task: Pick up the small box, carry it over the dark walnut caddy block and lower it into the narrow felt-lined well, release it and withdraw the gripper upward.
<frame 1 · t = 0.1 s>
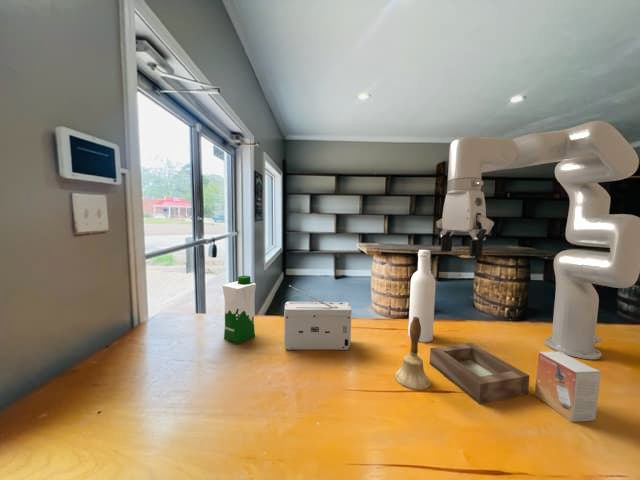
hand: (459, 253, 66), 31 cm above the table, fingers open, 9 cm apart
hand bell: (412, 380, 63), on the table
small box: (562, 408, 54), on the table
stereo radio cassette player: (317, 346, 80), on the table
bottle: (420, 337, 87), on the table
well block: (474, 377, 64), on the table
milk carton: (239, 337, 84), on the table
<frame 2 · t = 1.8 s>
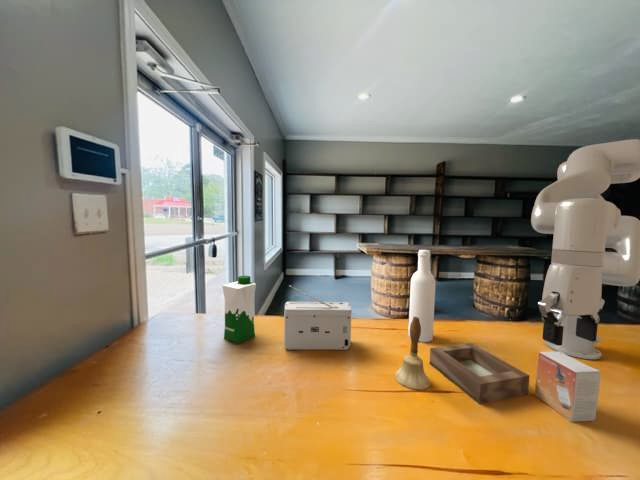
hand: (569, 340, 53), 15 cm above the table, fingers open, 9 cm apart
nothing on the table moved.
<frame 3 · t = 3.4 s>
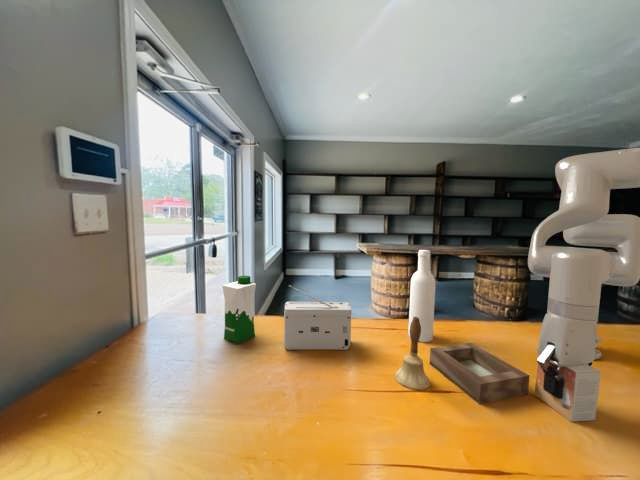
hand: (564, 391, 54), 4 cm above the table, fingers closed on small box, 6 cm apart
small box: (562, 408, 54), on the table, touching gripper
everything else where it was.
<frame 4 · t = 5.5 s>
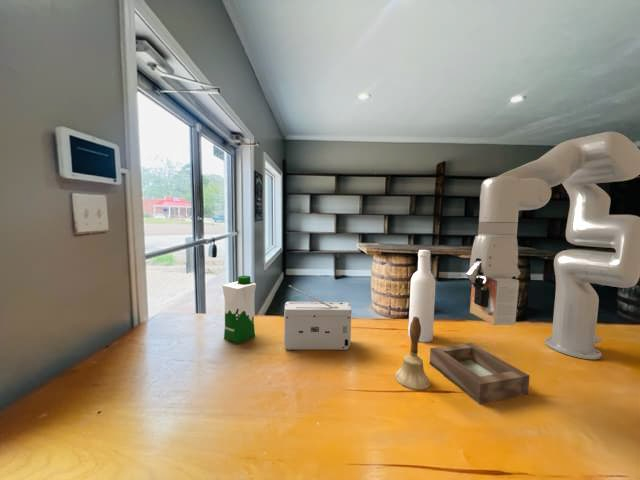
hand: (492, 303, 61), 20 cm above the table, fingers closed on small box, 6 cm apart
small box: (491, 319, 61), point 16 cm above the table, touching gripper
everything else where it was.
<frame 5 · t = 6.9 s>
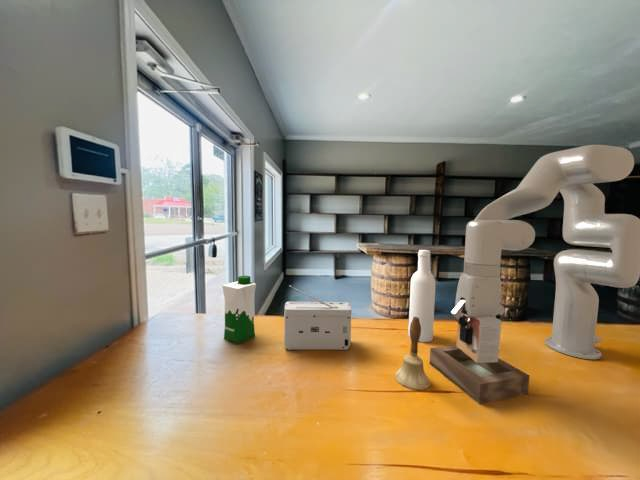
hand: (476, 340, 64), 10 cm above the table, fingers closed on small box, 6 cm apart
small box: (475, 355, 64), point 6 cm above the table, touching gripper
everything else where it was.
when the fingers open (6 cm above the table, at t = 8.1 s): small box drops 1 cm, resting on well block.
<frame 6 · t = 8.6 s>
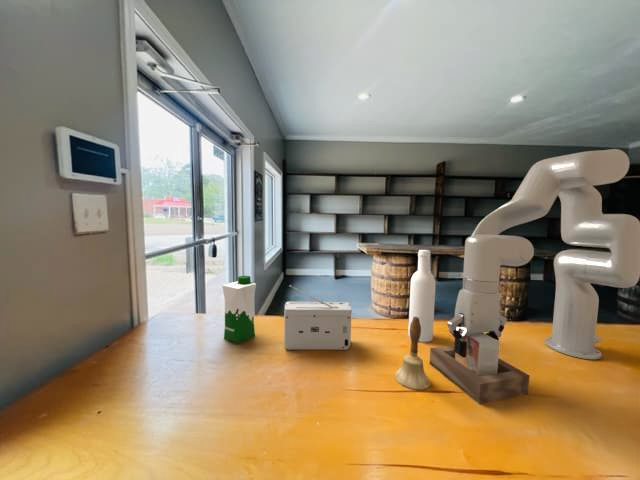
hand: (475, 352, 64), 7 cm above the table, fingers open, 9 cm apart
small box: (474, 375, 64), point 1 cm above the table, touching well block
everything else where it was.
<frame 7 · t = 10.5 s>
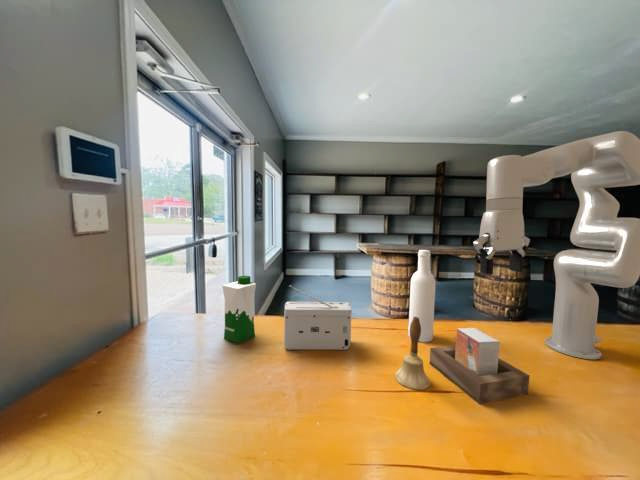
hand: (501, 272, 66), 27 cm above the table, fingers open, 9 cm apart
nothing on the table moved.
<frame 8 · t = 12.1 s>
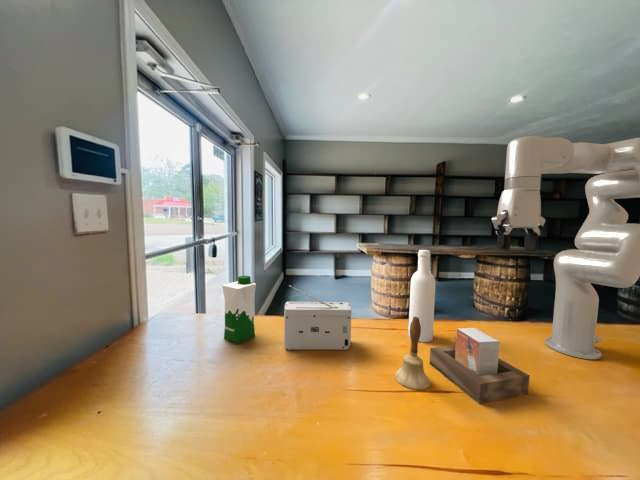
hand: (517, 249, 69), 32 cm above the table, fingers open, 9 cm apart
nothing on the table moved.
at the end: small box 0.1 cm off-centre on the well block, point 0.7 cm above the well block's base; small box tilted 0°; the gripper is holding nothing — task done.
